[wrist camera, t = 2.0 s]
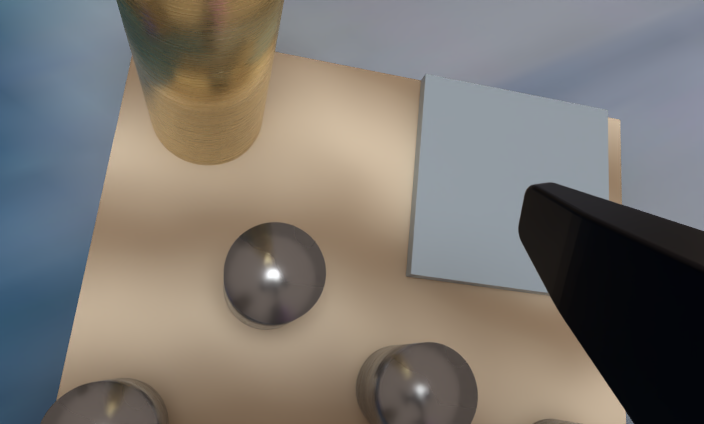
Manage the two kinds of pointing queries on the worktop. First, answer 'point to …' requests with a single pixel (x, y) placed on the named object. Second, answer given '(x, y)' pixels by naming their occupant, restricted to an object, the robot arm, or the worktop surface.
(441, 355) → the short steel spacers
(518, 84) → the worktop surface
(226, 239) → the board
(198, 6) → the tall brass spacer
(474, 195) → the grey flat square plate
